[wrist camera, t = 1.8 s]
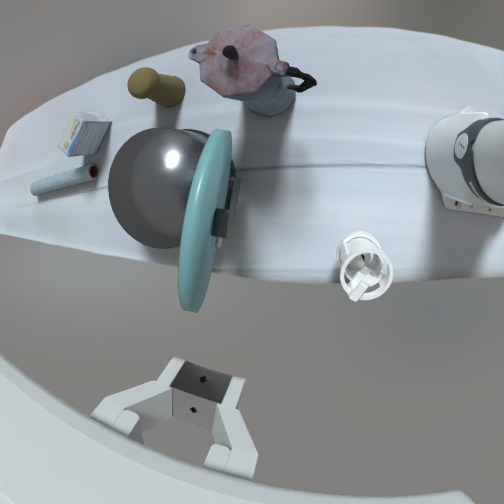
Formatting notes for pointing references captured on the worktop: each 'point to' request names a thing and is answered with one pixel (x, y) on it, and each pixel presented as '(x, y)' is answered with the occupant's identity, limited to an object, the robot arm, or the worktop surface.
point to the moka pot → (249, 70)
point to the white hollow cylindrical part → (362, 266)
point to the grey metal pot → (159, 184)
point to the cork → (156, 87)
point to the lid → (204, 220)
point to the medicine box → (83, 133)
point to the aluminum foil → (65, 179)
